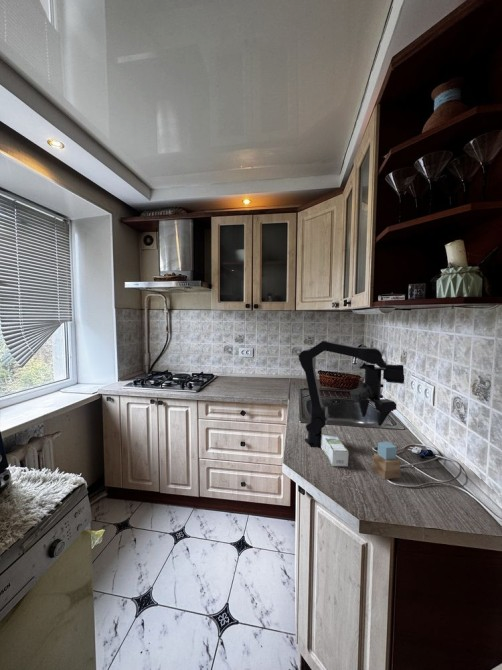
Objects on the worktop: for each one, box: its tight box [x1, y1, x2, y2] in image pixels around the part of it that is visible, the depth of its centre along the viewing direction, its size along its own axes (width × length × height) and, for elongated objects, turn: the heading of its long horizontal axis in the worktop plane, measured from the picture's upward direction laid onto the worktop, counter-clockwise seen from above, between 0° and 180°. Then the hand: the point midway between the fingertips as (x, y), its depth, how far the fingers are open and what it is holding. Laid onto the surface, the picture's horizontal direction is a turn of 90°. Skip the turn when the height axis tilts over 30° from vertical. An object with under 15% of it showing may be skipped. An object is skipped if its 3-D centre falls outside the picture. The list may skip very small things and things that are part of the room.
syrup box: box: [320, 433, 349, 467], centre depth 99 cm, size 6×6×14 cm
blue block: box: [377, 441, 398, 460], centre depth 89 cm, size 4×4×4 cm
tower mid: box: [373, 452, 401, 471], centre depth 88 cm, size 6×6×3 cm
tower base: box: [371, 461, 401, 480], centre depth 89 cm, size 6×6×3 cm
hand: (371, 421), depth 101 cm, fingers open, 9 cm apart
